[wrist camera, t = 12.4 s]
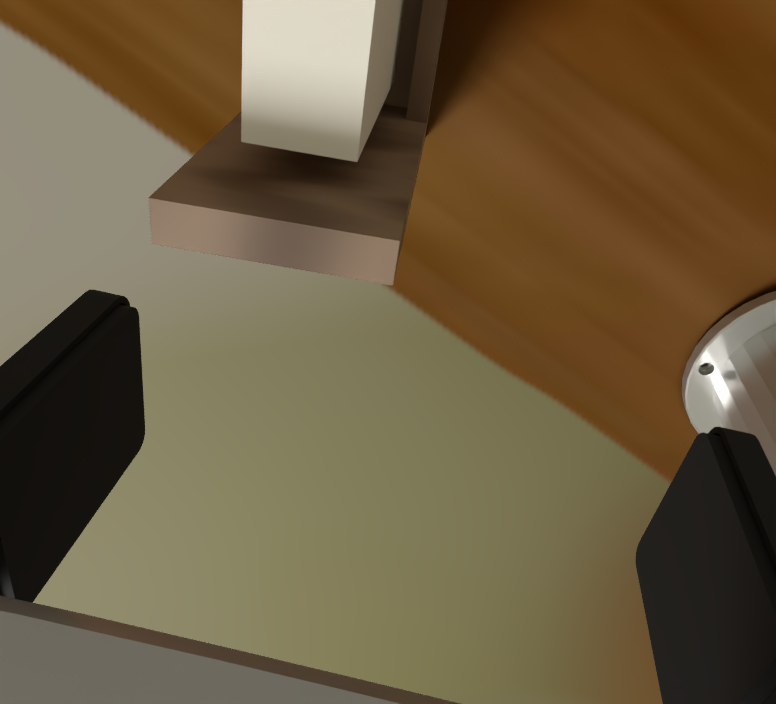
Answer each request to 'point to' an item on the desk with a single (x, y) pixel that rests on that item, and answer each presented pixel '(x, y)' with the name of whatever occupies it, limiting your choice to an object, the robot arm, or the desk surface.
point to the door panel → (317, 72)
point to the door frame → (312, 182)
